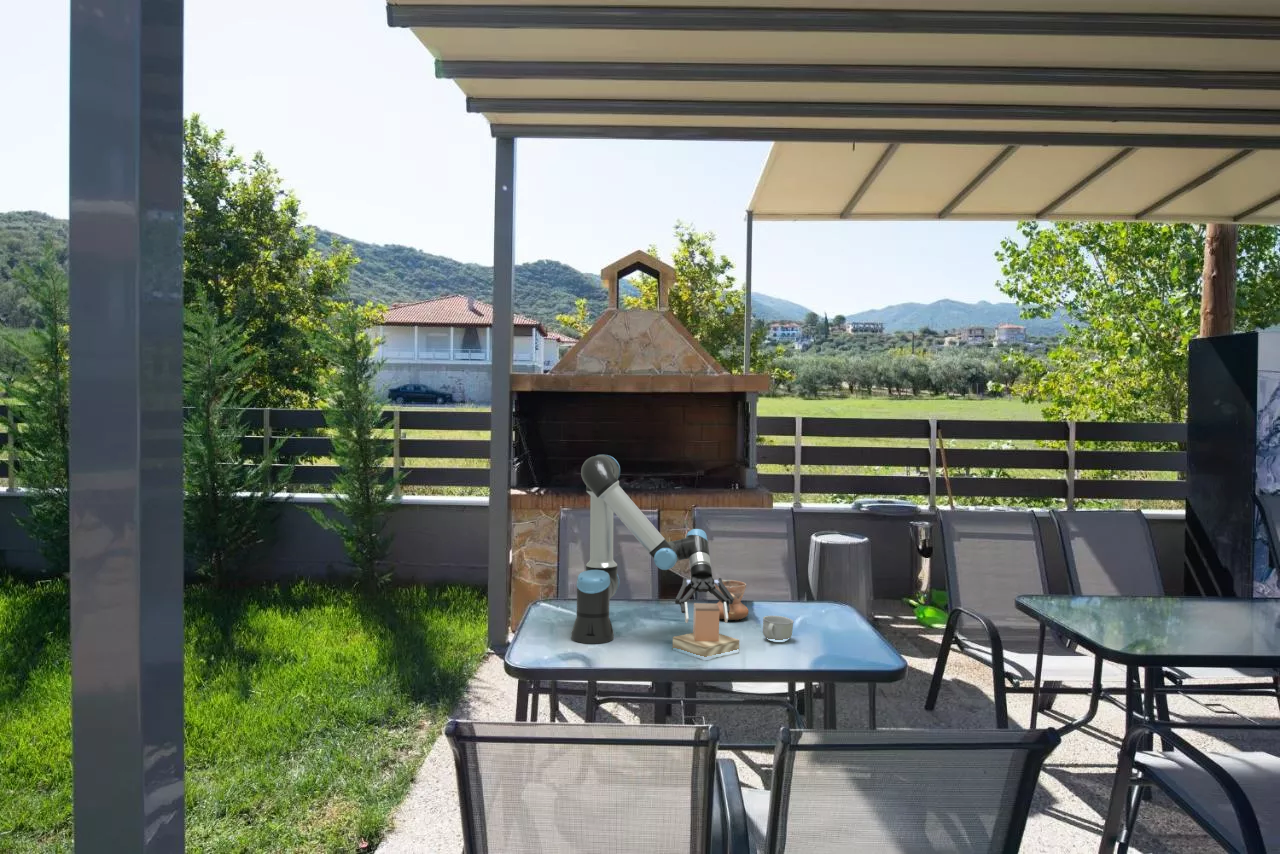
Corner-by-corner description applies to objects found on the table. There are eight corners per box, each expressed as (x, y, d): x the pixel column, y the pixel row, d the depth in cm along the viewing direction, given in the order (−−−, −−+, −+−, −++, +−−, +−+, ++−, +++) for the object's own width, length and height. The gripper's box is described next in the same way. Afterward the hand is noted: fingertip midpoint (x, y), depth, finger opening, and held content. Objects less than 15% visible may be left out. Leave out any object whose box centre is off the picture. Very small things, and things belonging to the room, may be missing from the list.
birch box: (705, 662, 287) (705, 647, 287) (672, 651, 299) (672, 636, 299) (739, 654, 297) (739, 639, 297) (706, 644, 309) (706, 630, 309)
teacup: (772, 635, 321) (772, 613, 321) (798, 640, 314) (799, 618, 314) (752, 642, 310) (752, 620, 310) (778, 648, 303) (779, 625, 303)
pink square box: (694, 641, 294) (695, 608, 294) (692, 634, 302) (693, 603, 302) (718, 641, 294) (719, 608, 294) (716, 635, 302) (716, 603, 302)
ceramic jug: (749, 624, 337) (750, 587, 336) (711, 623, 337) (712, 586, 337) (746, 613, 354) (747, 578, 354) (711, 612, 355) (711, 577, 355)
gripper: (733, 574, 316) (741, 626, 301) (664, 574, 313) (669, 626, 299) (736, 562, 310) (744, 614, 296) (666, 562, 308) (671, 614, 293)
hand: (706, 620), depth 297 cm, fingers open, 13 cm apart
